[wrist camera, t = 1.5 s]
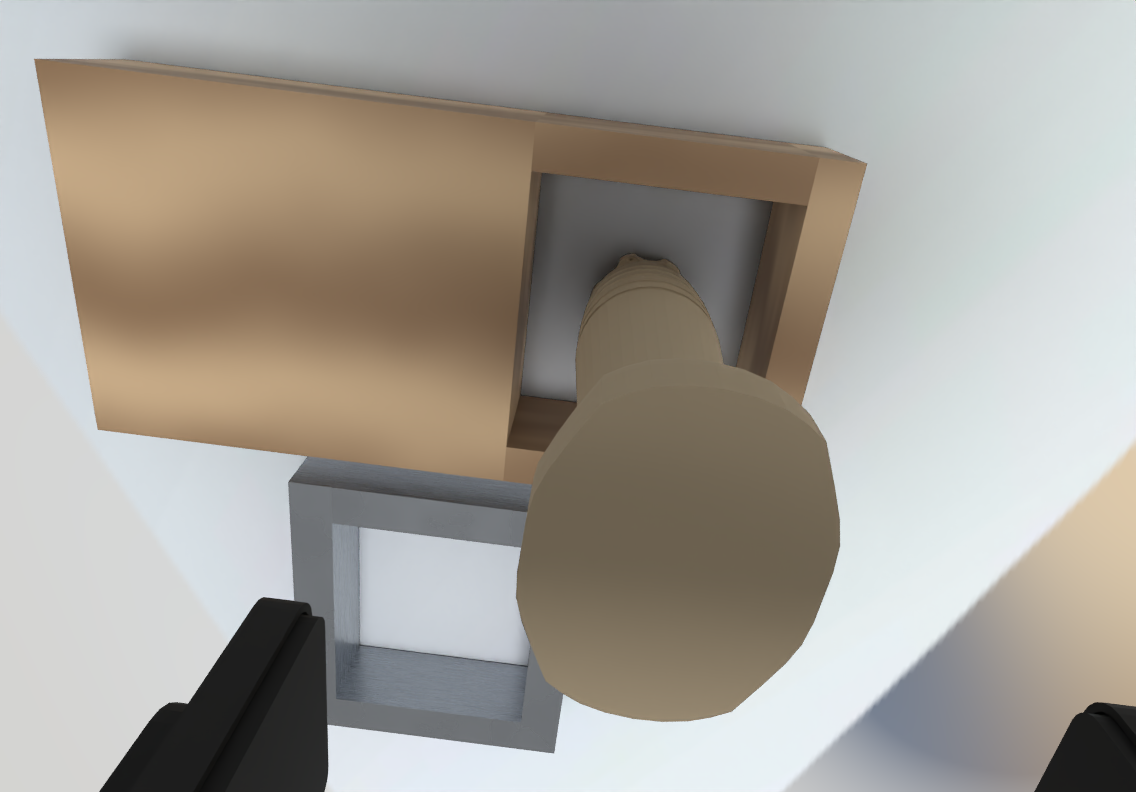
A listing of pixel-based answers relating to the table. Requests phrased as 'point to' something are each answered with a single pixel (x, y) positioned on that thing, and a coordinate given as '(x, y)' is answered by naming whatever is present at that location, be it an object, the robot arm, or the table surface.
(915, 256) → the table surface
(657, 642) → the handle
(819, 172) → the wooden box
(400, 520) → the collar
